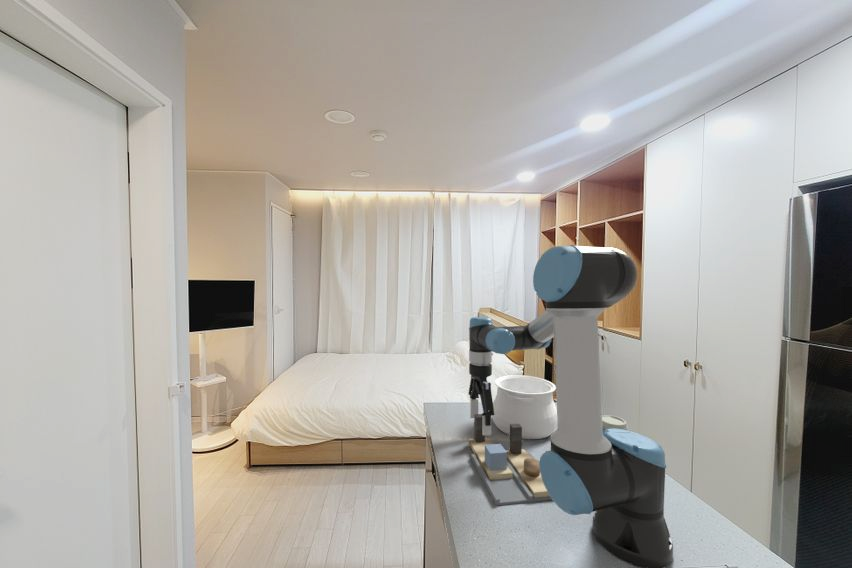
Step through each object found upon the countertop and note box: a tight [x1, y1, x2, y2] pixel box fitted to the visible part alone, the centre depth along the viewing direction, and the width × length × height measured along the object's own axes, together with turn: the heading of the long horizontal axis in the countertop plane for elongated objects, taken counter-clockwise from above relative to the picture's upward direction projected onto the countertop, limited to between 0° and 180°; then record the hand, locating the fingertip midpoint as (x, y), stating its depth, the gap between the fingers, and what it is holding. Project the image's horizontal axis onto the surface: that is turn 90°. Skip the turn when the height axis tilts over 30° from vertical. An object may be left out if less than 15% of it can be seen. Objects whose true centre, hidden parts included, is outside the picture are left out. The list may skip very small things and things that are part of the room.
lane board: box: [470, 449, 553, 506], centre depth 98 cm, size 22×19×2 cm
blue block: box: [485, 443, 507, 471], centre depth 100 cm, size 5×5×5 cm
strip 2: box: [506, 424, 550, 498], centre depth 99 cm, size 21×7×10 cm, turn 9°
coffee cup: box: [602, 414, 629, 434], centre depth 110 cm, size 8×8×12 cm
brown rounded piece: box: [524, 458, 540, 477], centre depth 97 cm, size 4×4×3 cm
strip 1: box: [468, 413, 513, 480], centre depth 106 cm, size 21×7×10 cm, turn 9°
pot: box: [491, 374, 558, 440], centre depth 130 cm, size 26×24×17 cm
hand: (480, 425), depth 115 cm, fingers open, 13 cm apart
